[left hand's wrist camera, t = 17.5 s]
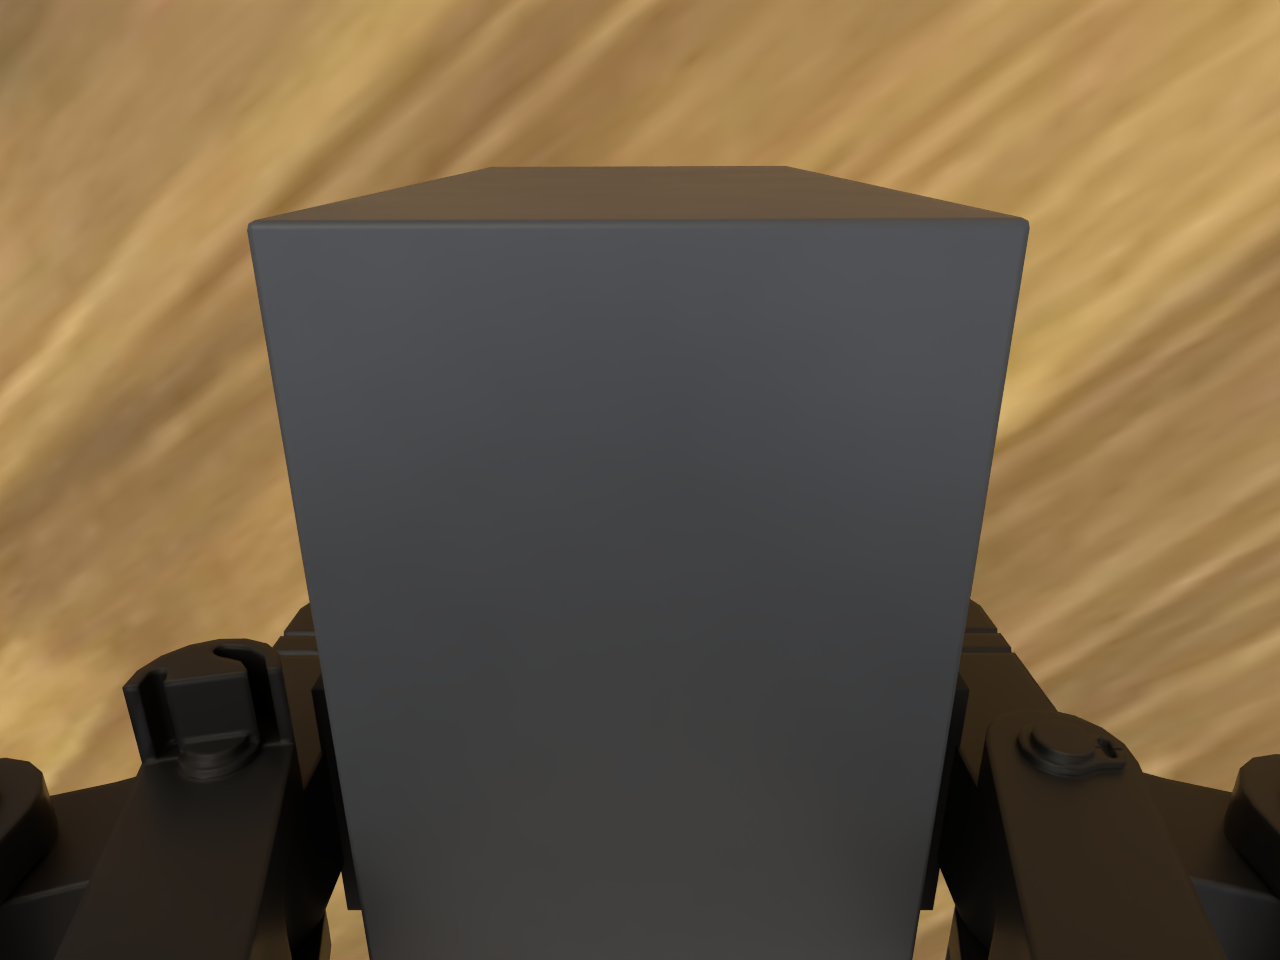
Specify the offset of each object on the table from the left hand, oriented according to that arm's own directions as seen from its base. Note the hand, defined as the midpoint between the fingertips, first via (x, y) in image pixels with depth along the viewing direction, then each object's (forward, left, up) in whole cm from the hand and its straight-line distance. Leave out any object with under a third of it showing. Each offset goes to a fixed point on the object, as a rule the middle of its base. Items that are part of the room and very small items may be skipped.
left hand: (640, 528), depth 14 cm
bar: (+17, -30, -1) cm, 35 cm away
